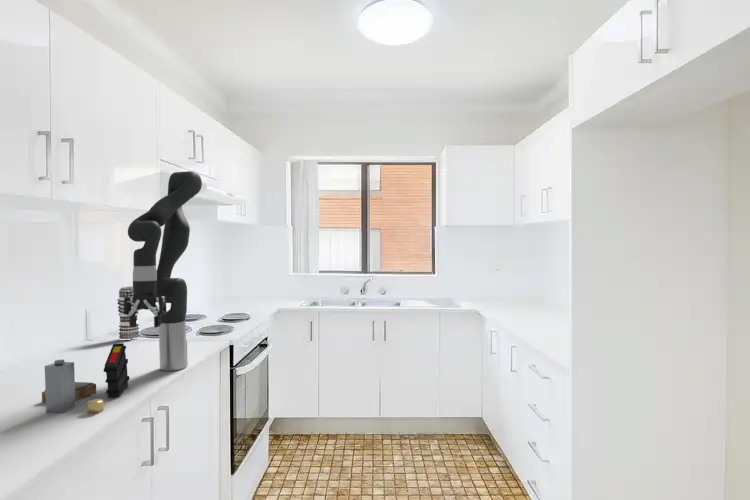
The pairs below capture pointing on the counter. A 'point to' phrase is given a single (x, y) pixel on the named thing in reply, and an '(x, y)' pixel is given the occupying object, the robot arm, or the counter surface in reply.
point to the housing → (60, 386)
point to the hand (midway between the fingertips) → (145, 327)
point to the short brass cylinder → (95, 406)
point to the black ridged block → (116, 371)
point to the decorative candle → (126, 316)
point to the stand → (79, 390)
